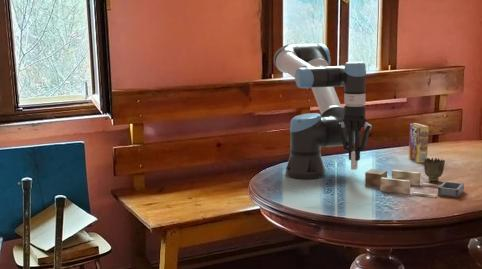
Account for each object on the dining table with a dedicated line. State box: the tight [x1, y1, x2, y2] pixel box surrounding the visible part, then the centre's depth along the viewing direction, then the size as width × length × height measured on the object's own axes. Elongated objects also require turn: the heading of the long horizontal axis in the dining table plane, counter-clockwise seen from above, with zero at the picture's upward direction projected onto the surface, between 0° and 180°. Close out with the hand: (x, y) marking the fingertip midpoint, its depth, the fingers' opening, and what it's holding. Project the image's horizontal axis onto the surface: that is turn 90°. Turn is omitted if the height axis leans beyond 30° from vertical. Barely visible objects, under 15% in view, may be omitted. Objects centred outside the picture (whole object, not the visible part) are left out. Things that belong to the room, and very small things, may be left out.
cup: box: [423, 157, 446, 183], centre depth 228 cm, size 8×7×8 cm
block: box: [364, 168, 388, 189], centre depth 226 cm, size 6×6×5 cm
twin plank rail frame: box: [379, 169, 441, 199], centre depth 219 cm, size 19×14×4 cm
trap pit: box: [437, 181, 465, 199], centre depth 213 cm, size 6×9×3 cm
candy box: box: [408, 122, 430, 164], centre depth 260 cm, size 9×4×15 cm, turn 13°
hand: (354, 168), depth 229 cm, fingers closed
